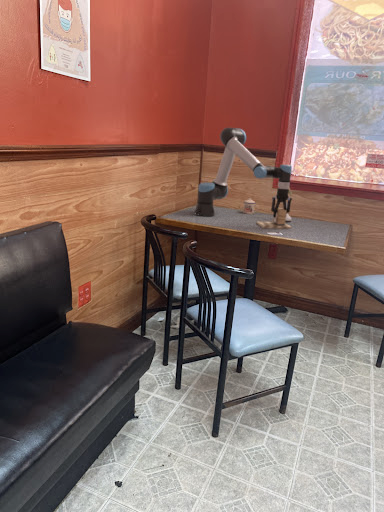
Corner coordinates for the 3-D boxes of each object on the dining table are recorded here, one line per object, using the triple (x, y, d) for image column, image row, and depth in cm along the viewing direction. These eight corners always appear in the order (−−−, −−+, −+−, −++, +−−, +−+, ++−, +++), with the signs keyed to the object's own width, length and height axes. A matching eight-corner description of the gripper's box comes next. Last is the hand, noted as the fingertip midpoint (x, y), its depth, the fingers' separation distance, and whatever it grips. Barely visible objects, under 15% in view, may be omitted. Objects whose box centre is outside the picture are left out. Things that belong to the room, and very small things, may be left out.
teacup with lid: (241, 213, 315) (242, 198, 312) (244, 211, 323) (246, 197, 320) (256, 215, 311) (257, 200, 308) (258, 213, 319) (260, 198, 316)
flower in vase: (291, 223, 290) (296, 188, 283) (275, 221, 292) (280, 187, 284) (291, 219, 302) (295, 186, 295) (275, 218, 304) (280, 185, 297)
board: (262, 228, 266) (263, 225, 265) (256, 223, 279) (256, 221, 279) (291, 228, 269) (291, 226, 269) (283, 224, 283) (283, 222, 282)
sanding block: (284, 225, 270) (286, 210, 267) (277, 224, 269) (279, 210, 267) (279, 222, 279) (281, 208, 276) (272, 222, 278) (274, 207, 275)
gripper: (272, 188, 262) (268, 223, 269) (298, 189, 265) (293, 223, 272) (268, 186, 269) (264, 220, 276) (293, 188, 272) (289, 221, 279)
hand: (278, 222), depth 274 cm, fingers closed on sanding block, 5 cm apart
